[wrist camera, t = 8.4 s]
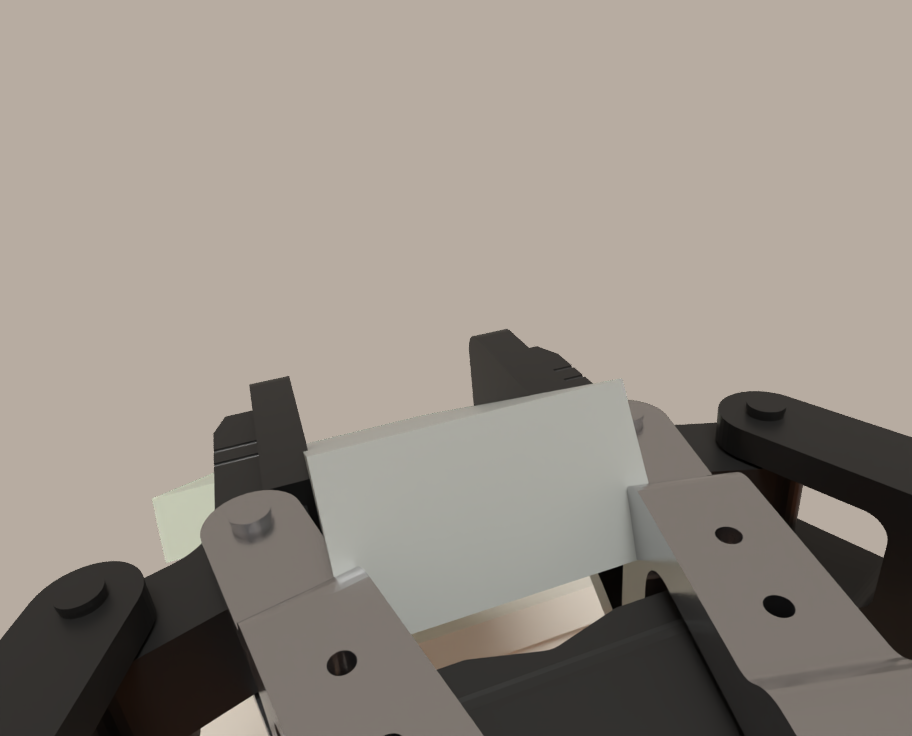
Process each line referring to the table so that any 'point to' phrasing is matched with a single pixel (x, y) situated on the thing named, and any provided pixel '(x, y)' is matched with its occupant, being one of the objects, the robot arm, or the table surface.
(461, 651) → the upright grey panel box
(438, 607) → the cover
